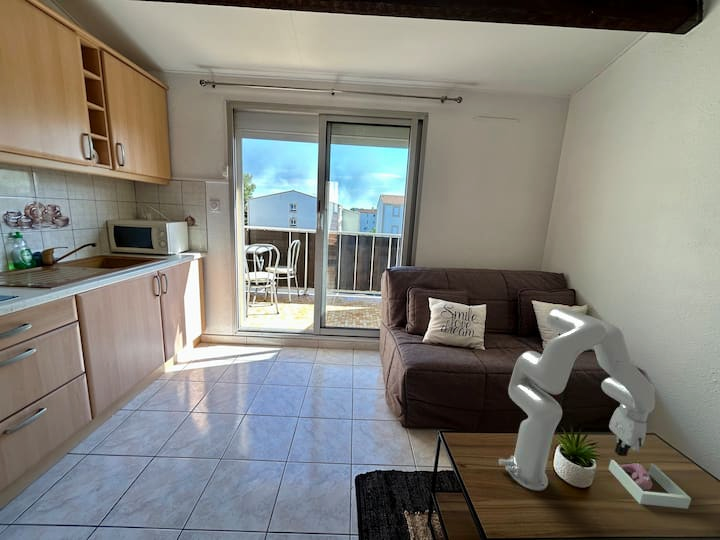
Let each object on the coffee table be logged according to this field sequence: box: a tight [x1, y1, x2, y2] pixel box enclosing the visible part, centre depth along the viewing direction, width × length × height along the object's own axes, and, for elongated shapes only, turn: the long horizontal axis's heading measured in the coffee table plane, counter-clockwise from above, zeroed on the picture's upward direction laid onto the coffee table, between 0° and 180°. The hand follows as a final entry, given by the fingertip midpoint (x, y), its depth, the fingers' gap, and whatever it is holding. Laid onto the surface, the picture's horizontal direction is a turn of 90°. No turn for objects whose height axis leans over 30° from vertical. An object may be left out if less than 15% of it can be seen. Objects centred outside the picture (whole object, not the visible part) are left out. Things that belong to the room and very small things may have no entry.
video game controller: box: [620, 462, 653, 491], centre depth 102 cm, size 10×5×7 cm, turn 153°
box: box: [608, 459, 692, 510], centre depth 100 cm, size 15×13×4 cm
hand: (620, 453), depth 111 cm, fingers closed
